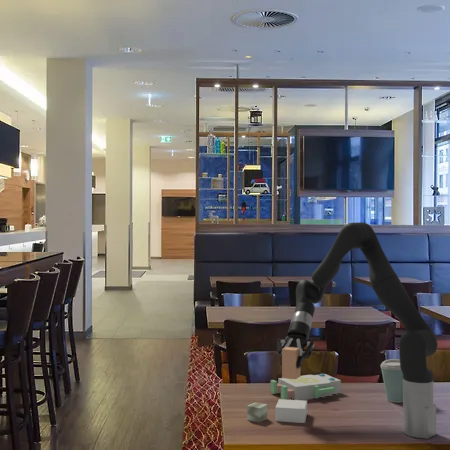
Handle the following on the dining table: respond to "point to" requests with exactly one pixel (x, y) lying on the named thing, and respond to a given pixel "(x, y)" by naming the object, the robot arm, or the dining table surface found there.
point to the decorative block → (306, 387)
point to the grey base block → (291, 411)
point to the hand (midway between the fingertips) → (289, 366)
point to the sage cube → (257, 412)
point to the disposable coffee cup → (393, 380)
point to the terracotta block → (290, 363)
